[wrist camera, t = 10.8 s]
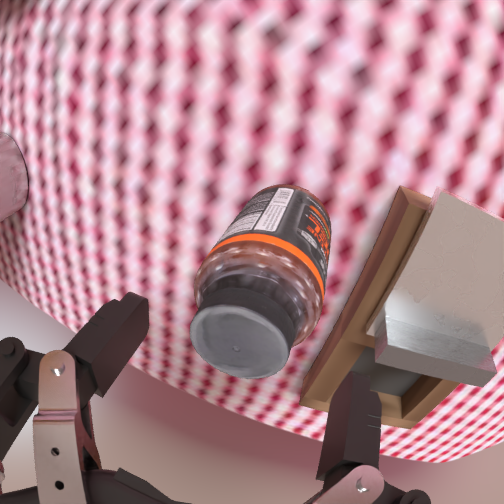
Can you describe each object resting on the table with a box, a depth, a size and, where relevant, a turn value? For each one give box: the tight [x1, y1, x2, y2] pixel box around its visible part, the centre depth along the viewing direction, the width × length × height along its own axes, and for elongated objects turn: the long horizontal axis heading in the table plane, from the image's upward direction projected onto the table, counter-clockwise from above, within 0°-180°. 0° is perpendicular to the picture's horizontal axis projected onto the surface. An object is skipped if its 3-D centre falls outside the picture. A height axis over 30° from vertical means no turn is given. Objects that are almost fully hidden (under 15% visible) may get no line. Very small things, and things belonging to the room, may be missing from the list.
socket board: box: [299, 186, 460, 429], centre depth 21 cm, size 12×20×3 cm, turn 168°
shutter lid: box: [366, 186, 504, 387], centre depth 15 cm, size 10×10×3 cm
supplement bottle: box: [190, 184, 331, 379], centre depth 16 cm, size 6×6×11 cm
